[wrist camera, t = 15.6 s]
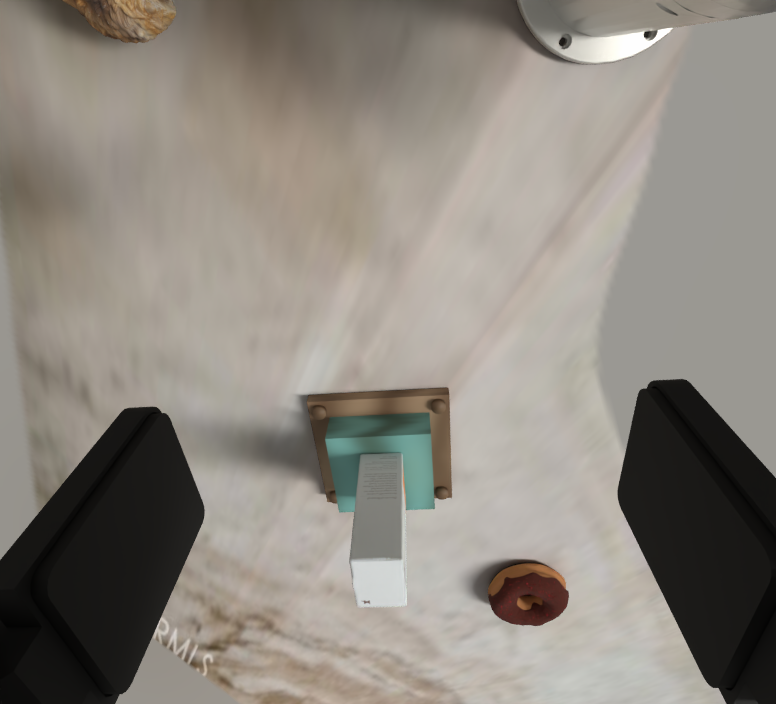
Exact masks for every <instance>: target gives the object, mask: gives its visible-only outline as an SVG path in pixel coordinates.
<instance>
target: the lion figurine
mask: <svg viewBox="0 0 776 704" xmlns="http://www.w3.org/2000/svg"><path fill="white" fill-rule="evenodd" d="M63 1H64V2H66V3H67V4H69V5H71V6H72V7H74V8H76V9H78V11H79V13H80V14H81V15H83V16H84V17H85V18H86V19H87V21H88V22H89V24H90V25H91V26H92V27H93V28H95V29H96V30H97V31H99V32H101V33H102V34H103V35H104V36H108V37H110V38H114V39H120V40H121V41H123V42H125V43H128V42H133V43H138V42H142V43H144V42H148V41H149V40H153V39H154V38H155V37H156V36H157V35H158V34H160V33H162V32H163V31H164V30H166V29H167V28H168V26H169V25H170V24H171V23H172V21H173V19H174V18H175V15H176V8H175V6H174V5H173V1H172V0H63Z"/></svg>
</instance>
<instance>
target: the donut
mask: <svg viewBox="0 0 776 704" xmlns="http://www.w3.org/2000/svg"><path fill="white" fill-rule="evenodd" d="M526 594H527V595H528V594H530V595H531V596H522V595H526ZM488 595H489V596H488V597H489V601H490V605H491V608H492V610H493V612H494V613H495V615H497V616H498V617H499V618H501V619H502V620H504V621H506V622H509V623H511V624H516V625H518V624H519V625H532V626H539V625H543V624H544V623H547V622H548V621H551V620H553V619H555V618H556V617H558V616H559V615H560V614H561V613H563V611H564V609H565V608H566V607H567V604H568V598H569V593H568V591H567V590H566V582H565V580H564V578H563V577H562V576H561V575H560V574H559V573H558V572H556V571H555V570H553V569H551V568H549V567H547V566H544V565H541V564H530V563H527V564H519V565H514V566H511V567H508V568H506V569H504V570H502V571H501V572H499V573H498V574H497V575H496V576H495V578H494V579H493V580H492V582H491V584H490V585H489V588H488Z"/></svg>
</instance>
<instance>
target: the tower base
mask: <svg viewBox="0 0 776 704" xmlns="http://www.w3.org/2000/svg"><path fill="white" fill-rule="evenodd" d="M307 406H308V411H309V415H310V420H311V425H312V430H313V435H314V439H315V444H316V449H317V454H318V459H319V463H320V468H321V473H322V478H323V483H324V487H325V492H326V497H327V502H332V503H338V508H339V512H354V511H355V501H356V492H357V482H358V473H359V463H360V455H361V454H383V453H402V455H403V472H404V485H405V494H406V510H418V509H435V503H434V498H438V499H446V498H452V483H451V444H450V405H449V389H448V388H434V389H415V390H396V391H377V392H358V393H339V394H320V395H309V396H308V400H307Z"/></svg>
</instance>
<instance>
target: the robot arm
mask: <svg viewBox="0 0 776 704" xmlns="http://www.w3.org/2000/svg"><path fill="white" fill-rule="evenodd" d="M517 4H518V8H519V10H520V13H521V15H522V17H523V19H524V21H525V23H526V25H527V27H528V28H529V30H530V31H531V32H532V34H533V35H534V37H535V38H536V39H537V41H538V42H540V43H541V44H542V45H543V46H544V47H545V48H547V49H548V50H549V51H550V52H551V53H553V54H555V55H557V56H559V57H561V58H563V59H565V60H568V61H572V62H576V63H580V64H594V65H596V64H607V63H614V62H617V61H621V60H624V59H627V58H631V57H633V56H635V55H637V54H639V53H641V52H643V51H645V50H647V49H648V48H650V47H652V46H653V45H654V44H656V43H657V42H658V41H660V40H661V39H662V38H664V37H665V36H666V35H668V34H669V33H670V32H671V31H672V30H673V29H674V28H675V27H682V26H689V25H696V24H703V23H710V22H718V21H724V20H731V19H738V18H742V17H749V16H755V15H761V14H766V13H772V12H776V0H517ZM647 31H648V36H647V37H646V38H644V32H647ZM561 38H564V39H565V44H564V45H563V46H560V45H559V40H560V39H561ZM618 501H619V504H620V507H621V510H622V512H623V514H624V516H625V518H626V520H627V522H628V524H629V526H630V528H631V530H632V532H633V534H634V536H635V538H636V540H637V542H638V544H639V546H640V548H641V550H642V553H643V555H644V557H645V559H646V561H647V563H648V565H649V567H650V569H651V571H652V573H653V575H654V577H655V579H656V581H657V583H658V585H659V587H660V589H661V591H662V593H663V595H664V598H665V600H666V602H667V604H668V606H669V608H670V610H671V612H672V614H673V616H674V618H675V620H676V622H677V624H678V626H679V628H680V630H681V632H682V634H683V636H684V638H685V640H686V643H687V645H688V647H689V649H690V651H691V653H692V655H693V657H694V659H695V661H696V663H697V665H698V667H699V669H700V671H701V673H702V675H703V677H704V679H705V680H706V682H707V683H708V684H709V685H710V686H711V687H713V688H719V690H720V692H721V694H722V696H723V698H724V700H725V702H726V704H776V478H775V477H774V476H773V474H772V473H771V472H770V471H769V470H768V469H767V468H766V467H765V466H764V464H763V463H762V462H761V461H760V460H759V459H758V458H757V457H756V456H755V455H754V453H753V452H752V451H751V450H750V449H749V448H748V447H747V446H746V445H745V443H744V442H743V441H742V440H741V439H740V438H739V437H738V436H737V435H736V434H735V432H734V431H733V430H732V429H731V428H730V427H729V426H728V425H727V424H726V422H725V421H724V420H723V419H722V418H721V417H720V416H719V415H718V413H717V412H716V411H715V410H714V409H713V408H712V407H711V406H710V405H709V404H708V402H707V401H706V400H705V399H704V398H703V397H702V396H701V395H700V393H699V392H698V391H697V390H696V389H695V388H694V387H693V386H692V385H691V383H689V382H688V381H687V380H684V379H676V380H656V381H652V382H650V383H649V385H648V387H647V389H641V390H640V391H639V393H638V397H637V401H636V406H635V411H634V415H633V420H632V425H631V430H630V434H629V439H628V444H627V448H626V453H625V458H624V462H623V467H622V472H621V476H620V481H619V486H618ZM203 520H204V505H203V502H202V499H201V497H200V494H199V491H198V489H197V486H196V484H195V481H194V479H193V476H192V474H191V471H190V468H189V466H188V463H187V461H186V458H185V456H184V453H183V451H182V448H181V445H180V443H179V440H178V438H177V435H176V433H175V430H174V428H173V425H172V422H171V420H170V418H169V416H168V415H167V414H165V413H161V411H160V410H159V409H158V408H157V407H138V408H127V409H124V410H123V411H122V412H121V413H120V414H119V416H118V417H117V418H116V419H115V420H114V422H113V423H112V424H111V425H110V427H109V428H108V429H107V430H106V431H105V433H104V434H103V435H102V436H101V438H100V439H99V440H98V441H97V442H96V444H95V445H94V446H93V447H92V449H91V450H90V451H89V452H88V453H87V455H86V456H85V457H84V458H83V460H82V461H81V462H80V463H79V465H78V466H77V467H76V468H75V469H74V471H73V472H72V473H71V474H70V476H69V477H68V478H67V479H66V480H65V482H64V483H63V484H62V485H61V487H60V488H59V489H58V490H57V491H56V493H55V494H54V495H53V496H52V498H51V499H50V500H49V501H48V502H47V504H46V505H45V506H44V507H43V509H42V510H41V511H40V512H39V513H38V515H37V516H36V517H35V518H34V520H33V521H32V522H31V523H30V524H29V526H28V527H27V528H26V529H25V531H24V532H23V533H22V534H21V536H20V537H19V538H18V539H17V540H16V542H15V543H14V544H13V545H12V546H11V548H10V549H9V550H8V551H7V553H6V554H5V555H4V556H3V557H2V559H1V560H0V704H115V703H116V701H117V699H118V696H119V694H123V693H124V692H126V691H127V690H128V688H129V687H130V685H131V683H132V681H133V679H134V677H135V674H136V672H137V670H138V668H139V666H140V663H141V661H142V658H143V657H144V654H145V652H146V650H147V647H148V645H149V643H150V641H151V638H152V636H153V634H154V632H155V629H156V627H157V625H158V623H159V620H160V618H161V616H162V614H163V611H164V609H165V607H166V604H167V602H168V600H169V598H170V595H171V593H172V591H173V589H174V586H175V584H176V582H177V580H178V577H179V575H180V573H181V571H182V568H183V566H184V564H185V561H186V559H187V557H188V555H189V552H190V550H191V548H192V546H193V543H194V541H195V539H196V537H197V534H198V532H199V530H200V528H201V525H202V523H203Z"/></svg>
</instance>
